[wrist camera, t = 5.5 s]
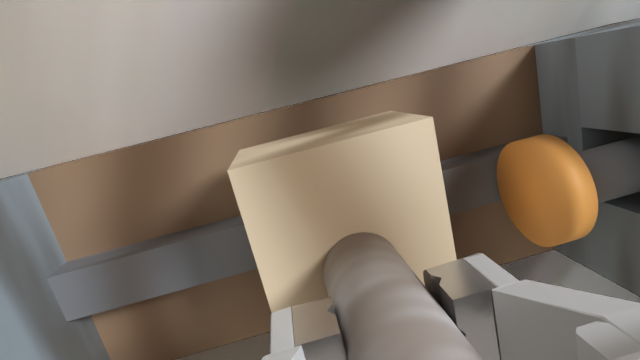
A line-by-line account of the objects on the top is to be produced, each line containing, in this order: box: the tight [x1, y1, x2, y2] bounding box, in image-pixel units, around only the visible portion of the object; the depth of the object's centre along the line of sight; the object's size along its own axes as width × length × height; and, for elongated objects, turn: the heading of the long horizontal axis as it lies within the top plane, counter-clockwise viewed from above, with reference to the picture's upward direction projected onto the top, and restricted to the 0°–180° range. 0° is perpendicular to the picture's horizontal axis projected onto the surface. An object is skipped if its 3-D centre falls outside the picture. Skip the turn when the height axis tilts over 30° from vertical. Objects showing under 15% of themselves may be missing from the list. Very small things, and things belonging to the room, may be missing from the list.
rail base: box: [0, 18, 640, 360], centre depth 14 cm, size 32×10×10 cm, turn 104°
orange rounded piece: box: [497, 134, 640, 247], centre depth 14 cm, size 7×4×4 cm, turn 104°
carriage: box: [227, 111, 483, 360], centre depth 11 cm, size 6×8×10 cm
